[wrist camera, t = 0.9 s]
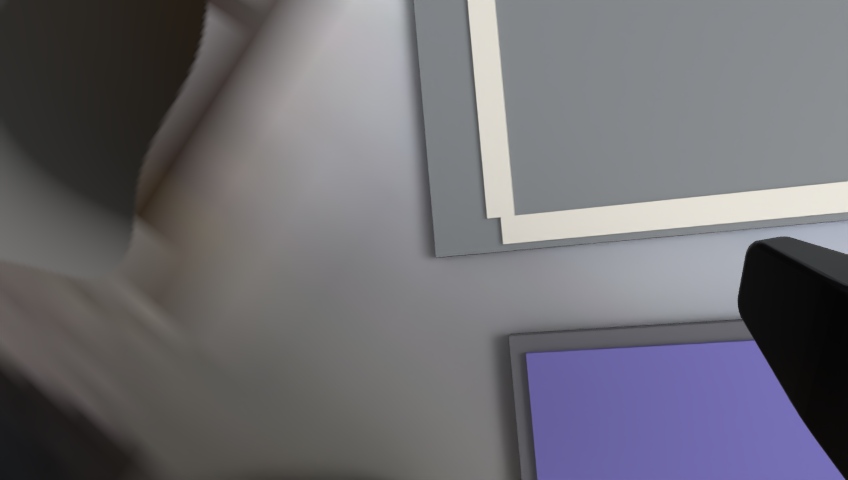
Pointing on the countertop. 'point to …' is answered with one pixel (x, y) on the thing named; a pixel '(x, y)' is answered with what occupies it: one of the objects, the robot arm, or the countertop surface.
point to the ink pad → (656, 407)
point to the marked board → (630, 118)
